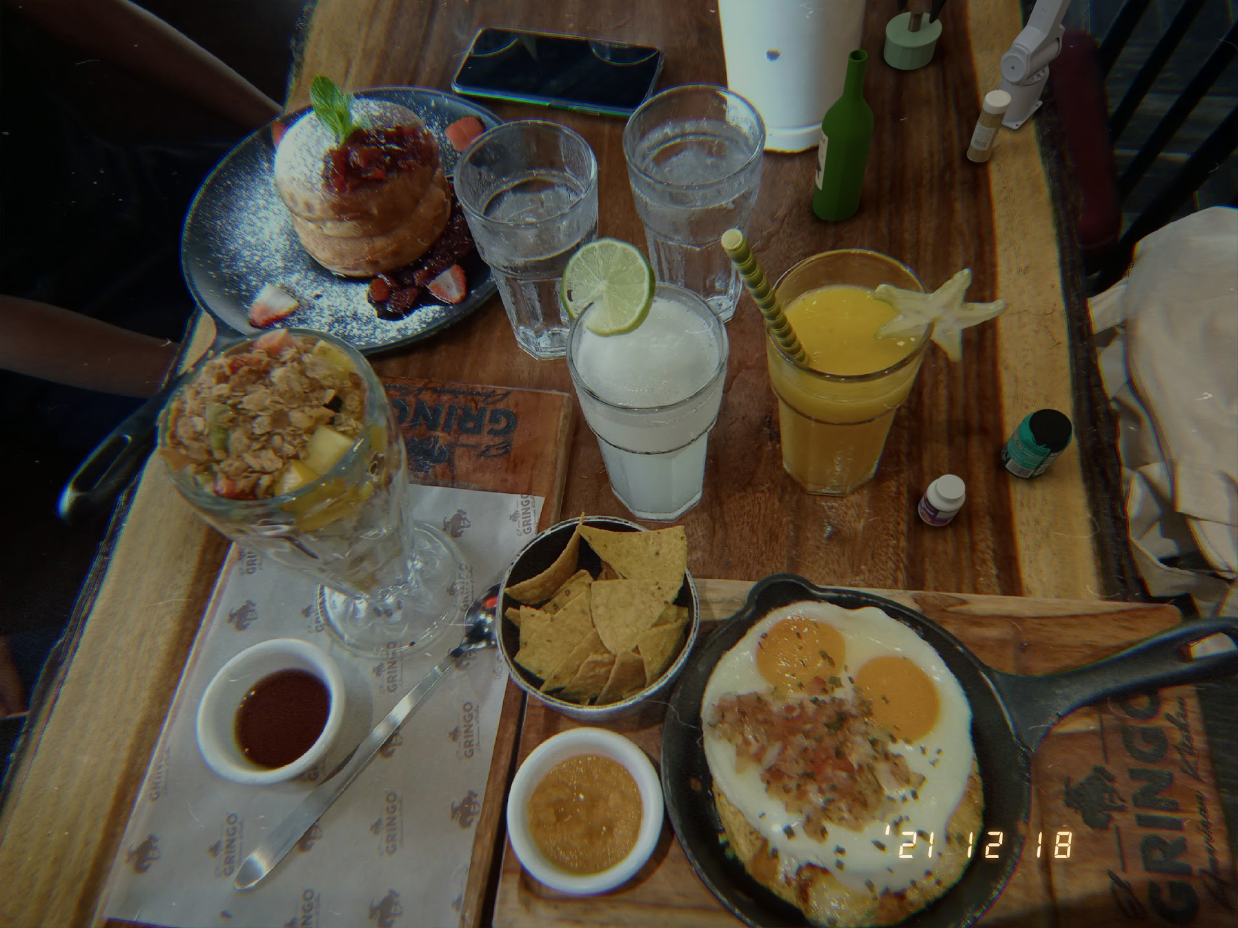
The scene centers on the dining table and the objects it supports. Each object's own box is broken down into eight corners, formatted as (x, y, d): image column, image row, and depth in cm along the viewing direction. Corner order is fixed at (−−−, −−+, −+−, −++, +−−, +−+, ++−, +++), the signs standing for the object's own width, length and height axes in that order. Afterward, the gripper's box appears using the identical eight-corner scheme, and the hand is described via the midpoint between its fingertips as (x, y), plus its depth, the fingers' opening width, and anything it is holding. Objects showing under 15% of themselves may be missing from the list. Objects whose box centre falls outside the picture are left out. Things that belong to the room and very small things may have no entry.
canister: (902, 33, 165) (907, 9, 160) (943, 49, 161) (949, 25, 156) (874, 59, 163) (878, 35, 158) (914, 76, 159) (919, 52, 154)
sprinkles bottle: (994, 156, 146) (1017, 97, 134) (977, 168, 145) (998, 109, 133) (977, 145, 148) (998, 85, 136) (960, 156, 147) (979, 97, 135)
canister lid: (906, 10, 161) (911, -13, 157) (951, 28, 157) (958, 4, 152) (874, 38, 159) (878, 15, 154) (919, 57, 154) (924, 34, 150)
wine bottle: (808, 194, 149) (824, 43, 120) (852, 186, 148) (879, 32, 119) (817, 226, 145) (836, 78, 116) (863, 218, 144) (894, 67, 115)
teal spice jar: (1046, 445, 118) (1076, 407, 107) (1046, 484, 115) (1078, 449, 105) (999, 439, 120) (1024, 402, 109) (998, 477, 117) (1024, 443, 106)
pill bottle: (913, 498, 117) (927, 472, 109) (947, 493, 117) (964, 467, 108) (922, 529, 115) (937, 505, 106) (957, 524, 115) (975, 500, 106)
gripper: (887, -54, 144) (876, 13, 156) (952, -32, 138) (935, 37, 150) (909, -73, 146) (896, -4, 158) (974, -51, 140) (956, 18, 152)
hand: (917, 15), depth 154 cm, fingers open, 7 cm apart
